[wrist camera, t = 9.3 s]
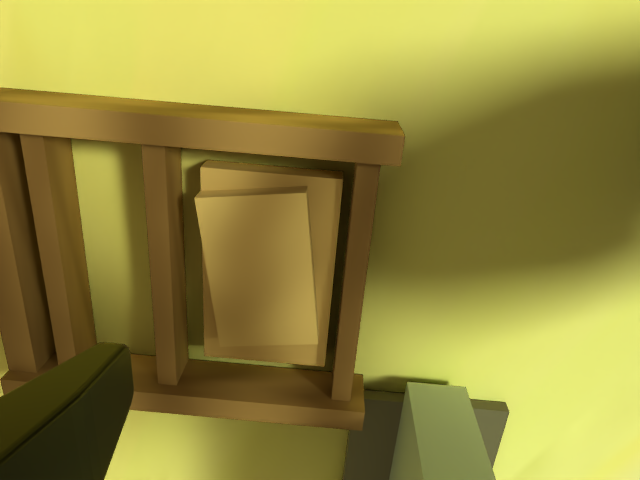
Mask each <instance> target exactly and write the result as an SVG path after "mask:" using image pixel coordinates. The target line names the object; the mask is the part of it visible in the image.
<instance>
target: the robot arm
mask: <svg viewBox="0 0 640 480" xmlns="http://www.w3.org/2000/svg"><path fill="white" fill-rule="evenodd" d="M133 394H134V383H133V373H132V364H131V354H130V350H129V348H128V347H127V346H126V345H125V344H117V343H106V342H102V343H98V344H96V345H94V346H92V347H90V348H89V349H87V350H85V351H83V352H81V353H80V354H78V355H76V356H74V357H72V358H70V359H69V360H67V361H65V362H63V363H61V364H60V365H58V366H56V367H54V368H52V369H50V370H49V371H47V372H45V373H43V374H41V375H40V376H38V377H36V378H34V379H32V380H30V381H29V382H27V383H25V384H23V385H21V386H20V387H18V388H16V389H14V390H12V391H10V392H9V393H7V394H5V395H3V396H1V397H0V480H104V478H105V476H106V473H107V470H108V467H109V465H110V462H111V459H112V456H113V453H114V451H115V448H116V445H117V442H118V440H119V437H120V434H121V431H122V428H123V426H124V423H125V420H126V417H127V415H128V412H129V409H130V406H131V403H132V399H133Z"/></svg>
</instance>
